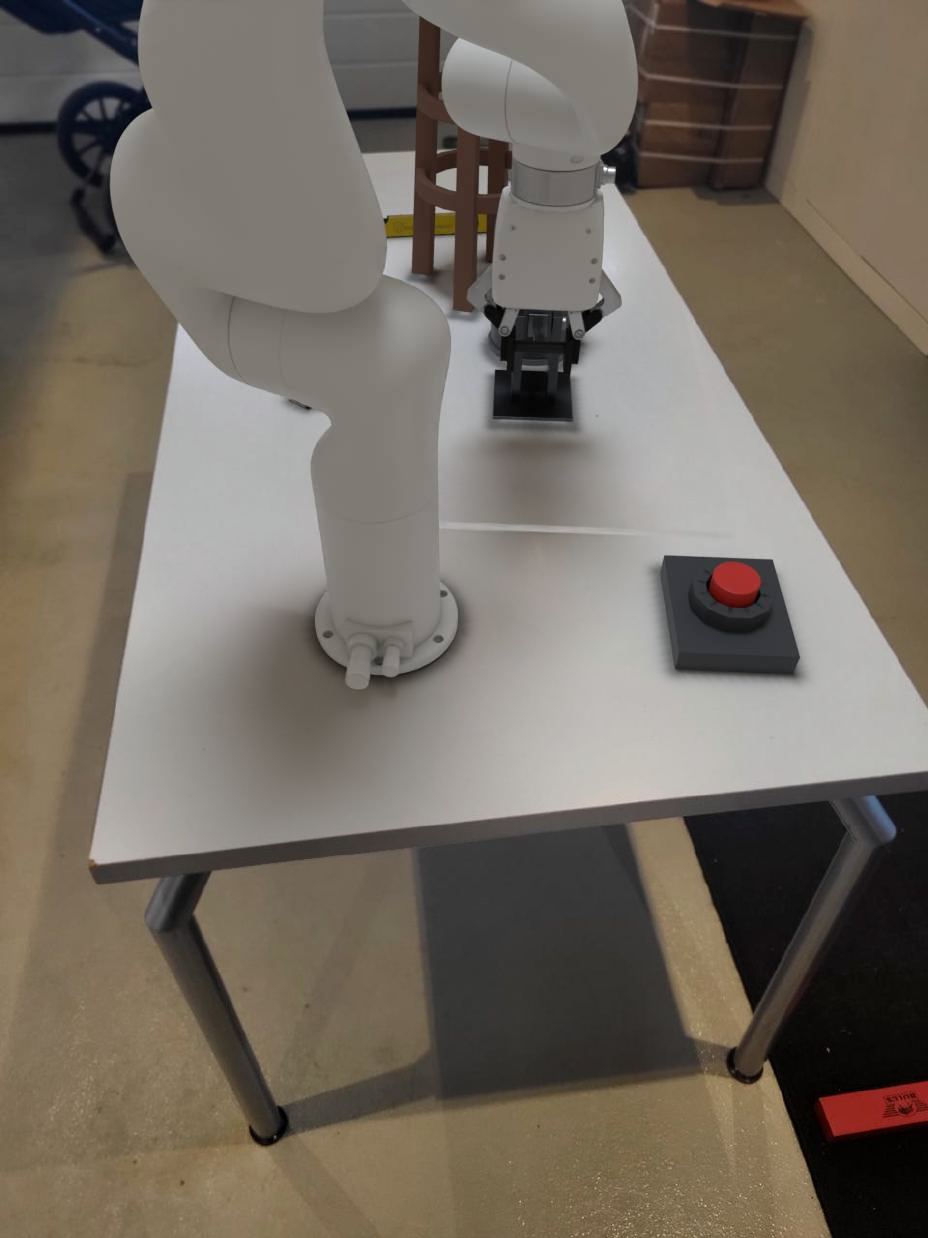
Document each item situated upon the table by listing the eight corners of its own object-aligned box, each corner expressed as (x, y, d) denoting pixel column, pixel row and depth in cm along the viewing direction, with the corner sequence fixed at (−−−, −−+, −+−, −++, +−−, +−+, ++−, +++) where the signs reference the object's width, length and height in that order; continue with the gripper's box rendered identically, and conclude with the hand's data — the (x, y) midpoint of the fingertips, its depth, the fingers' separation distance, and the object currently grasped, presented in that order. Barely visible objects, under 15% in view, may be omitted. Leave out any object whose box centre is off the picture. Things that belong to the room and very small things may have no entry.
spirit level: (487, 229, 135) (488, 209, 133) (489, 232, 134) (489, 212, 132) (267, 239, 132) (264, 219, 130) (267, 243, 131) (264, 223, 129)
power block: (793, 674, 75) (806, 642, 72) (674, 669, 75) (683, 637, 72) (766, 576, 83) (778, 544, 80) (660, 571, 83) (667, 540, 80)
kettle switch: (564, 361, 88) (566, 337, 87) (514, 359, 88) (515, 335, 87) (559, 330, 97) (561, 308, 96) (514, 329, 97) (515, 306, 96)
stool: (430, -45, 106) (591, -33, 102) (434, 245, 131) (563, 263, 128) (374, -8, 93) (557, 7, 89) (391, 307, 118) (534, 328, 115)
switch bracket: (572, 428, 99) (583, 331, 91) (492, 425, 100) (495, 328, 91) (569, 380, 106) (579, 286, 98) (494, 377, 106) (497, 283, 98)
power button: (759, 609, 75) (764, 594, 74) (712, 607, 75) (716, 593, 74) (751, 576, 78) (756, 562, 76) (705, 575, 78) (710, 560, 77)
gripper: (649, 167, 79) (620, 352, 92) (458, 159, 79) (456, 345, 92) (657, 199, 74) (625, 391, 87) (453, 191, 74) (451, 383, 87)
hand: (538, 366), depth 89 cm, fingers closed on kettle switch, 5 cm apart
